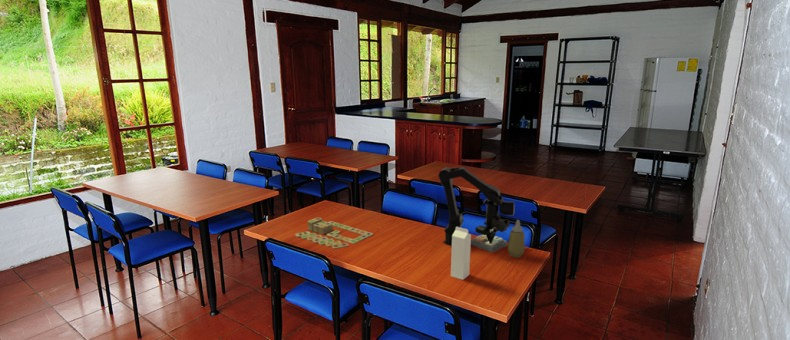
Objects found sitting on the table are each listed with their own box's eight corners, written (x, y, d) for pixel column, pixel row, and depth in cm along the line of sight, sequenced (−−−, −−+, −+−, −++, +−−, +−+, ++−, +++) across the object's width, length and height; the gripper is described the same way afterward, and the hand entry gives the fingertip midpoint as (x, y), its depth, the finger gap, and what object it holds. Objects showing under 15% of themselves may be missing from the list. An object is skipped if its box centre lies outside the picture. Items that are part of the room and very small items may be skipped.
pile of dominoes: (292, 236, 228) (291, 226, 227) (327, 222, 249) (327, 213, 248) (340, 252, 208) (339, 242, 207) (374, 235, 230) (374, 225, 228)
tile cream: (491, 248, 209) (491, 245, 208) (484, 246, 212) (485, 242, 211) (496, 246, 211) (496, 242, 211) (489, 244, 214) (489, 240, 214)
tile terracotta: (481, 242, 213) (481, 239, 212) (475, 240, 216) (475, 236, 215) (486, 240, 215) (486, 237, 215) (480, 238, 218) (480, 234, 218)
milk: (457, 271, 188) (458, 224, 183) (469, 275, 185) (471, 227, 180) (450, 276, 183) (452, 228, 178) (462, 280, 180) (464, 231, 175)
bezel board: (492, 252, 207) (492, 247, 206) (470, 244, 216) (470, 239, 216) (506, 245, 215) (507, 241, 214) (485, 238, 224) (485, 233, 224)
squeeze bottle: (515, 260, 199) (517, 224, 194) (503, 253, 206) (505, 218, 201) (527, 256, 202) (530, 221, 198) (515, 250, 209) (518, 216, 205)
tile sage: (487, 240, 216) (488, 236, 216) (481, 237, 219) (481, 234, 219) (492, 238, 219) (492, 234, 218) (486, 236, 222) (486, 232, 221)
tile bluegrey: (497, 243, 212) (498, 240, 211) (491, 241, 215) (491, 237, 214) (502, 241, 214) (502, 238, 214) (495, 239, 217) (496, 235, 217)
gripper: (494, 221, 195) (492, 253, 199) (517, 213, 207) (515, 242, 211) (475, 215, 204) (473, 245, 207) (498, 207, 216) (496, 236, 219)
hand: (490, 242), depth 211 cm, fingers closed, pressing on tile cream
